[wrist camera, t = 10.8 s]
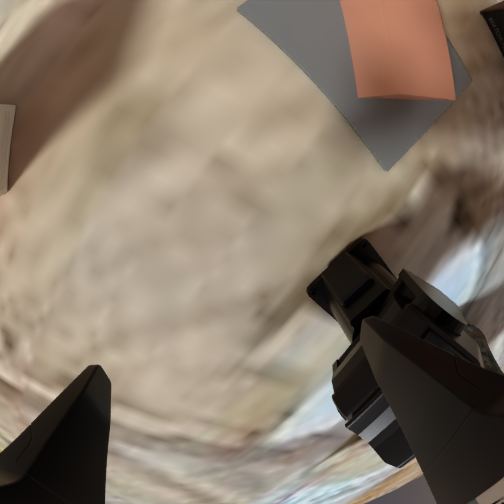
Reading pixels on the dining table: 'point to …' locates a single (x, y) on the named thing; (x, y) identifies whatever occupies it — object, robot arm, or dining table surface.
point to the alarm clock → (496, 22)
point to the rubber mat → (348, 73)
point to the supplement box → (5, 143)
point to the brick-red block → (398, 49)
